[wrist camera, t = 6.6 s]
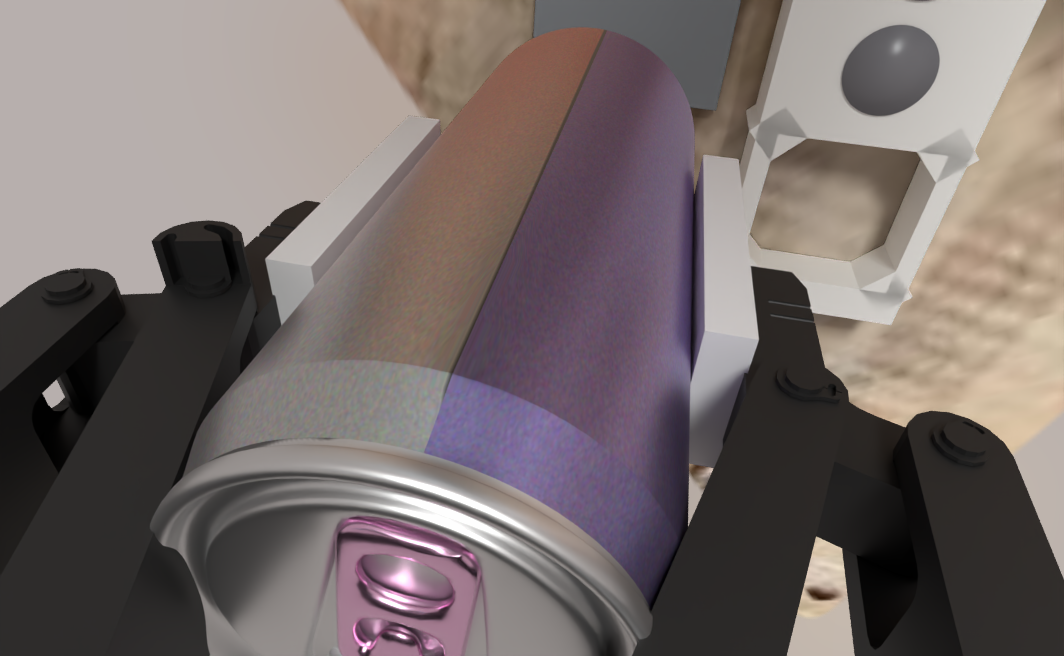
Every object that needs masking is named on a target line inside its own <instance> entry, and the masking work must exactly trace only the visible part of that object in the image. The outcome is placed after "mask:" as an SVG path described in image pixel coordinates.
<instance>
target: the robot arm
mask: <svg viewBox="0 0 1064 656" xmlns="http://www.w3.org/2000/svg"><path fill="white" fill-rule="evenodd" d="M439 136H440V120H439V119H432V118H424V117H417V116H408V117H407V118H406V119H405V120H404V121H403V122H402V123H401V124H400V125H399V126H398V127H397V128H396V129H395V130H394V131H393V132H392V133H391V134H390V135H389V136H388V137H387V138H386V139H385V140H384V141H383V142H382V143H381V144H380V145H379V146H378V147H377V148H376V149H375V150H374V151H373V152H372V153H371V154H370V155H369V156H368V157H367V158H366V159H365V160H364V161H363V162H362V163H361V164H360V165H359V166H358V167H357V168H356V169H355V170H354V171H353V172H352V173H351V174H350V175H349V176H348V177H347V178H346V179H345V180H344V181H343V182H342V183H341V184H340V185H339V186H338V187H337V188H336V189H335V190H334V191H333V192H332V193H331V194H330V195H329V196H328V197H327V198H326V199H325V200H324V201H323V202H322V203H319V202H312V201H304V202H302V203H300V204H297V205H295V206H293V207H291V208H289V209H287V210H285V211H284V212H282V213H281V214H280V215H279V216H278V217H277V218H276V219H275V220H274V221H273V222H272V223H271V225H270V226H267V227H266V228H265V229H264V230H263V231H262V232H261V233H260V234H259V237H255V238H254V239H253V240H252V241H251V242H250V243H249V244H248V245H247V246H246V247H244V242H243V238H242V233H241V232H240V231H239V230H238V229H237V228H236V227H235V226H233V225H230V224H228V223H225V222H218V221H198V222H189V223H185V224H181V225H177V226H174V227H172V228H170V229H168V230H166V231H163V232H162V233H160V234H159V235H158V236H157V237H156V238H154V239H153V241H152V244H153V247H154V250H155V253H156V256H157V259H158V262H159V265H160V269H161V272H162V275H163V278H164V281H165V284H166V287H165V288H164V290H163V292H162V293H156V294H128V295H121V294H120V291H119V289H118V287H117V283H116V281H115V278H113V277H112V276H111V275H110V274H109V273H108V272H105V271H101V270H98V269H80V268H77V269H70V270H63V271H59V272H57V273H55V274H53V275H50V276H47V277H44V278H42V279H40V280H38V281H37V282H35V283H33V284H32V285H30V286H28V287H27V288H26V289H24V290H23V291H22V292H20V293H19V294H18V295H16V296H15V297H14V298H12V299H11V300H10V301H9V302H7V303H6V304H4V305H3V306H2V307H1V308H0V656H210V653H209V649H208V644H207V633H206V620H205V613H204V608H203V604H202V600H201V596H200V593H199V591H198V588H197V586H196V583H195V581H194V578H193V576H192V574H191V572H190V569H189V567H188V565H187V563H186V561H185V560H184V558H183V557H182V555H181V554H180V553H179V552H178V551H177V550H176V549H173V548H170V547H166V546H163V545H162V544H161V543H160V542H159V541H158V539H157V538H156V536H155V534H154V532H152V531H151V530H150V523H151V520H152V518H153V516H154V514H155V512H156V510H157V508H158V506H159V505H160V503H161V502H162V501H163V499H164V498H165V497H166V495H167V494H168V493H169V491H170V490H171V489H172V488H173V487H174V486H175V485H176V484H177V483H178V482H179V481H180V480H181V479H182V478H183V475H184V471H185V468H186V465H187V462H188V458H189V455H190V452H191V448H192V445H193V442H194V440H195V437H196V434H197V431H198V430H199V428H200V426H201V424H202V422H203V420H204V419H205V418H206V416H207V415H208V413H209V412H210V411H211V409H212V408H213V407H214V406H215V405H216V403H217V402H218V401H219V400H220V399H221V397H222V396H223V395H224V394H225V393H226V391H227V390H228V389H229V388H230V387H231V385H232V384H233V383H234V382H235V381H236V380H237V378H238V377H239V376H240V375H241V374H242V372H243V371H244V370H245V369H246V368H247V366H248V365H249V364H250V363H251V362H252V360H253V359H254V358H255V357H256V356H257V354H258V353H259V352H260V351H261V350H262V348H263V347H264V346H265V345H266V344H267V342H268V341H269V340H270V339H271V338H272V336H273V335H274V334H275V333H276V332H277V330H278V329H279V328H280V327H281V326H282V324H283V323H284V322H285V321H286V320H287V318H288V317H289V316H290V315H291V314H292V312H293V311H294V310H295V309H296V308H297V306H298V305H299V304H300V303H301V302H302V300H303V299H304V298H305V297H306V296H307V294H308V293H309V292H310V291H311V290H312V289H313V287H314V286H315V285H316V284H317V283H318V281H319V280H320V279H321V278H322V277H323V275H324V274H325V273H326V272H327V271H328V269H329V268H330V267H331V266H332V265H333V263H334V262H335V261H336V260H337V259H338V257H339V256H340V255H341V254H342V253H343V251H344V250H345V249H346V248H347V247H348V245H349V244H350V243H351V242H352V241H353V239H354V238H355V237H356V236H357V235H358V233H359V232H360V231H361V230H362V229H363V227H364V226H365V225H366V224H367V223H368V221H369V220H370V219H371V218H372V217H373V215H374V214H375V213H376V212H377V211H378V209H379V208H380V207H381V206H382V205H383V203H384V202H385V201H386V200H387V199H388V198H389V196H390V195H391V194H392V193H393V192H394V190H395V189H396V188H397V187H398V186H399V184H400V183H401V182H402V181H403V180H404V178H405V177H406V176H407V175H408V174H409V172H410V171H411V170H412V169H413V168H414V166H415V165H416V164H417V163H418V162H419V160H420V159H421V158H422V157H423V156H424V154H425V153H426V152H427V151H428V150H429V148H430V147H431V146H432V145H433V144H434V142H435V141H436V140H437V139H438V138H439ZM810 307H811V304H810V300H809V296H808V291H807V288H806V287H805V286H804V285H803V284H802V283H801V282H800V280H799V279H798V278H797V277H796V276H795V275H794V274H793V273H792V272H788V271H782V270H775V269H768V268H762V267H755V266H751V265H750V256H749V248H748V239H747V230H746V221H745V212H744V203H743V195H742V186H741V177H740V168H739V159H734V158H726V157H719V156H711V155H703V158H702V163H701V167H700V172H699V176H698V181H697V185H696V190H695V194H694V207H693V264H692V321H691V378H690V435H689V463H690V464H695V465H700V466H706V467H711V468H714V469H713V471H712V474H711V476H710V478H709V481H708V483H707V485H706V487H705V490H704V492H703V494H702V497H701V499H700V501H699V503H698V506H697V508H696V510H695V513H694V515H693V517H692V520H691V522H690V524H689V526H688V529H687V531H686V533H685V535H684V538H683V540H682V542H681V545H680V547H679V549H678V551H677V554H676V556H675V558H674V561H673V563H672V565H671V567H670V570H669V572H668V574H667V577H666V579H665V581H664V583H663V586H662V588H661V590H660V593H659V595H658V597H657V599H656V602H655V604H654V606H653V609H652V611H651V615H652V616H653V623H652V630H651V633H650V635H649V636H648V637H647V638H644V639H639V641H638V643H637V645H636V647H635V650H634V652H633V654H632V656H787V652H788V648H789V643H790V640H791V636H792V632H793V627H794V623H795V619H796V615H797V611H798V607H799V603H800V599H801V595H802V591H803V587H804V583H805V579H806V575H807V571H808V567H809V563H810V559H811V555H812V550H813V546H814V542H815V538H816V536H817V537H819V538H821V539H823V540H825V541H828V542H830V543H832V544H834V545H836V546H838V547H840V548H843V549H842V551H843V560H844V568H845V577H846V585H847V594H848V602H849V610H850V619H851V627H852V636H853V644H854V653H855V656H1064V579H1063V576H1062V574H1061V572H1060V569H1059V567H1058V564H1057V562H1056V559H1055V557H1054V554H1053V552H1052V549H1051V547H1050V545H1049V542H1048V540H1047V537H1046V535H1045V533H1044V530H1043V527H1042V525H1041V523H1040V520H1039V518H1038V515H1037V513H1036V511H1035V508H1034V506H1033V503H1032V501H1031V498H1030V496H1029V493H1028V491H1027V488H1026V486H1025V484H1024V481H1023V479H1022V476H1021V474H1020V471H1019V469H1018V466H1017V464H1016V461H1015V459H1014V457H1013V455H1012V454H1011V452H1010V451H1009V449H1008V448H1007V446H1006V445H1005V443H1004V442H1003V441H1002V440H1000V439H999V438H998V437H997V436H996V435H994V434H993V433H992V432H991V431H990V430H989V429H987V428H985V427H983V426H981V425H980V424H978V423H976V422H974V421H972V420H970V419H968V418H965V417H962V416H959V415H955V414H952V413H949V412H938V411H929V412H924V413H920V414H917V415H916V416H915V417H914V418H913V419H912V420H911V421H910V422H909V423H908V425H907V426H906V428H905V427H903V426H900V425H897V424H895V423H892V422H890V421H887V420H884V419H882V418H879V417H877V416H874V415H872V414H870V413H868V412H865V411H863V410H861V409H859V408H858V407H856V406H854V405H853V404H851V403H850V402H849V397H848V390H847V389H846V387H845V386H844V384H843V383H842V381H841V380H840V379H839V378H838V377H837V376H835V375H834V374H833V373H832V372H830V371H829V370H828V369H826V368H825V365H824V361H823V357H822V352H821V348H820V344H819V339H818V335H817V331H816V326H815V323H813V322H814V317H813V313H812V309H810ZM56 379H57V381H58V383H59V385H60V387H61V389H62V391H63V393H64V395H65V398H64V399H63V400H62V401H61V402H60V403H59V404H58V405H56V406H55V407H53V408H51V407H50V406H48V404H47V402H46V400H45V398H44V396H43V394H42V393H43V392H44V391H45V390H46V389H47V388H48V387H49V386H50V385H51V384H52V383H53V382H54V381H55V380H56Z"/></svg>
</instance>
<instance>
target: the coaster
mask: <svg viewBox="0 0 1064 656" xmlns="http://www.w3.org/2000/svg"><path fill="white" fill-rule="evenodd" d="M740 2H741V0H536V2H535V19H534V37H533V38H535V37H538V36H540V35H542V34H545V33H548V32H551V31H556V30H560V29H566V28H577V27H587V28H598V29H603V30H608V31H612V32H615V33H618V34H621V35H624V36H626V37H628V38H631V39H633V40H635V41H636V42H638V43H640V44H642V45H643V46H645V47H646V48H648V49H649V50H650V51H652V52H653V53H654V54H655V55H657V56H658V57H659V58H660V59H661V60H662V61H663V62H664V63H665V64H666V65H667V67H668V68H669V69H670V70H671V71H672V73H673V74H674V75H675V77H676V78H677V80H678V82H679V83H680V85H681V87H682V89H683V91H684V93H685V95H686V97H687V100H688V102H689V105H690V107H691V108H699V109H707V110H715V111H716V108H717V104H718V99H719V95H720V91H721V86H722V82H723V77H724V73H725V68H726V64H727V60H728V55H729V51H730V46H731V42H732V38H733V33H734V29H735V24H736V20H737V16H738V11H739V7H740Z"/></svg>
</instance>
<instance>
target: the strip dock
mask: <svg viewBox="0 0 1064 656" xmlns="http://www.w3.org/2000/svg"><path fill="white" fill-rule="evenodd" d="M1045 2H1046V0H783V2H782V6H781V9H780V13H779V17H778V21H777V25H776V29H775V32H774V36H773V40H772V44H771V48H770V52H769V55H768V59H767V63H766V67H765V71H764V75H763V78H762V82H761V86H760V90H759V94H758V98H757V101H756V104H755V105H753V106H752V107H750V108H749V109H747V110H746V114H747V121H748V127H749V132H748V136H747V140H746V144H745V147H744V151H743V155H742V159H741V163H740V167H739V168H740V177H741V186H742V195H743V203H744V212H745V221H746V230H747V239H748V248H749V256H750V265H751V266H755V267H762V268H768V269H775V270H782V271H788V272H792V273H793V274H794V275H795V276H796V277H797V278H798V279H799V280H800V282H801V283H802V284H803V285H804V286H805V287H806V288H807V291H808V296H809V300H810V304H811V307H810V309H812V313H817V314H824V315H830V316H836V317H843V318H849V319H855V320H862V321H868V322H874V323H881V324H887V325H891V324H892V322H893V320H894V318H895V316H896V314H897V312H898V309H899V307H900V305H901V303H902V302H904V301H906V300H908V299H910V298H913V297H912V295H911V292H910V290H909V286H910V284H911V282H912V280H913V278H914V276H915V274H916V272H917V270H918V268H919V266H920V263H921V261H922V259H923V257H924V255H925V253H926V251H927V249H928V247H929V245H930V243H931V241H932V238H933V236H934V234H935V232H936V230H937V228H938V226H939V224H940V222H941V220H942V218H943V215H944V213H945V211H946V209H947V207H948V205H949V203H950V201H951V199H952V197H953V195H954V192H955V190H956V188H957V186H958V184H959V182H960V180H961V178H962V176H963V174H964V172H965V169H966V167H968V166H970V165H971V164H973V163H975V162H977V161H979V158H978V156H977V154H976V152H975V149H976V147H977V144H978V142H979V140H980V138H981V136H982V134H983V132H984V130H985V128H986V126H987V124H988V121H989V119H990V117H991V115H992V113H993V111H994V109H995V107H996V105H997V103H998V101H999V98H1000V96H1001V94H1002V92H1003V90H1004V88H1005V86H1006V84H1007V82H1008V80H1009V78H1010V76H1011V73H1012V71H1013V69H1014V67H1015V65H1016V63H1017V61H1018V59H1019V57H1020V55H1021V53H1022V50H1023V48H1024V46H1025V44H1026V42H1027V40H1028V38H1029V36H1030V34H1031V32H1032V30H1033V27H1034V25H1035V23H1036V21H1037V19H1038V17H1039V15H1040V13H1041V11H1042V9H1043V7H1044V5H1045ZM807 138H810V139H818V140H826V141H834V142H842V143H849V144H857V145H865V146H873V147H881V148H889V149H897V150H904V151H912V152H916V153H917V154H918V156H919V158H920V159H921V160H920V162H919V164H918V167H917V169H916V171H915V174H914V176H913V178H912V181H911V183H910V185H909V188H908V190H907V192H906V194H905V197H904V199H903V201H902V204H901V206H900V208H899V211H898V213H897V215H896V218H895V220H894V222H893V225H892V227H891V229H890V232H889V234H888V236H887V239H886V241H885V243H884V245H882V246H880V247H878V248H876V249H874V250H872V251H870V252H868V253H866V254H864V255H862V256H860V257H858V258H856V259H854V260H852V261H850V262H849V261H842V260H835V259H828V258H822V257H815V256H808V255H801V254H794V253H788V252H781V251H774V250H767V249H761V248H760V247H759V246H758V244H757V243H756V242H755V240H754V239H753V238H752V236H751V235H750V230H751V227H752V223H753V220H754V216H755V213H756V209H757V206H758V203H759V199H760V196H761V192H762V189H763V185H764V182H765V178H766V175H767V171H768V168H769V164H770V161H772V160H773V159H775V158H777V157H778V156H780V155H781V154H783V153H785V152H786V151H788V150H789V149H791V148H793V147H794V146H796V145H797V144H799V143H801V142H802V141H804V140H805V139H807Z"/></svg>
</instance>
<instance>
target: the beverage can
mask: <svg viewBox="0 0 1064 656" xmlns="http://www.w3.org/2000/svg"><path fill="white" fill-rule="evenodd" d="M694 150H695V133H694V123H693V117H692V112H691V109H690V105H689V102H688V100H687V97H686V95H685V93H684V91H683V89H682V87H681V85H680V83H679V82H678V80H677V78H676V77H675V75H674V74H673V73H672V71H671V70H670V69H669V68H668V67H667V65H666V64H665V63H664V62H663V61H662V60H661V59H660V58H659V57H658V56H657V55H655V54H654V53H653V52H652V51H650V50H649V49H648V48H646V47H645V46H643V45H642V44H640V43H638V42H636V41H635V40H633V39H631V38H628V37H626V36H624V35H621V34H618V33H615V32H612V31H608V30H603V29H598V28H587V27H577V28H566V29H560V30H556V31H551V32H548V33H545V34H542V35H540V36H538V37H535V38H533V39H531V40H530V41H528V42H526V43H524V44H523V45H521V46H520V47H518V48H517V49H516V50H514V51H513V52H512V53H511V54H510V55H508V56H507V57H506V58H505V59H504V60H503V61H502V63H501V64H500V65H499V66H498V67H497V68H496V69H495V71H494V72H493V73H492V74H491V75H490V77H489V78H488V79H487V80H486V81H485V83H484V84H483V85H482V86H481V87H480V89H479V90H478V91H477V92H476V93H475V95H474V96H473V97H472V98H471V99H470V101H469V102H468V103H467V104H466V105H465V107H464V108H463V109H462V110H461V111H460V113H459V114H458V115H457V116H456V117H455V118H454V120H453V121H452V122H451V123H450V124H449V126H448V127H447V128H446V129H445V130H444V132H443V133H442V134H441V135H440V136H439V138H438V139H437V140H436V141H435V142H434V144H433V145H432V146H431V147H430V148H429V150H428V151H427V152H426V153H425V154H424V156H423V157H422V158H421V159H420V160H419V162H418V163H417V164H416V165H415V166H414V168H413V169H412V170H411V171H410V172H409V174H408V175H407V176H406V177H405V178H404V180H403V181H402V182H401V183H400V184H399V186H398V187H397V188H396V189H395V190H394V192H393V193H392V194H391V195H390V196H389V198H388V199H387V200H386V201H385V202H384V203H383V205H382V206H381V207H380V208H379V209H378V211H377V212H376V213H375V214H374V215H373V217H372V218H371V219H370V220H369V221H368V223H367V224H366V225H365V226H364V227H363V229H362V230H361V231H360V232H359V233H358V235H357V236H356V237H355V238H354V239H353V241H352V242H351V243H350V244H349V245H348V247H347V248H346V249H345V250H344V251H343V253H342V254H341V255H340V256H339V257H338V259H337V260H336V261H335V262H334V263H333V265H332V266H331V267H330V268H329V269H328V271H327V272H326V273H325V274H324V275H323V277H322V278H321V279H320V280H319V281H318V283H317V284H316V285H315V286H314V287H313V289H312V290H311V291H310V292H309V293H308V294H307V296H306V297H305V298H304V299H303V300H302V302H301V303H300V304H299V305H298V306H297V308H296V309H295V310H294V311H293V312H292V314H291V315H290V316H289V317H288V318H287V320H286V321H285V322H284V323H283V324H282V326H281V327H280V328H279V329H278V330H277V332H276V333H275V334H274V335H273V336H272V338H271V339H270V340H269V341H268V342H267V344H266V345H265V346H264V347H263V348H262V350H261V351H260V352H259V353H258V354H257V356H256V357H255V358H254V359H253V360H252V362H251V363H250V364H249V365H248V366H247V368H246V369H245V370H244V371H243V372H242V374H241V375H240V376H239V377H238V378H237V380H236V381H235V382H234V383H233V384H232V385H231V387H230V388H229V389H228V390H227V391H226V393H225V394H224V395H223V396H222V397H221V399H220V400H219V401H218V402H217V403H216V405H215V406H214V407H213V408H212V409H211V411H210V412H209V413H208V415H207V416H206V418H205V419H204V420H203V422H202V424H201V426H200V428H199V430H198V431H197V434H196V437H195V440H194V442H193V445H192V448H191V452H190V455H189V458H188V462H187V465H186V468H185V471H184V475H183V478H182V479H181V480H180V481H179V482H178V483H177V484H176V485H175V486H174V487H173V488H172V489H171V490H170V491H169V493H168V494H167V495H166V497H165V498H164V499H163V501H162V502H161V503H160V505H159V506H158V508H157V510H156V512H155V514H154V516H153V518H152V520H151V523H150V530H151V531H152V532H154V534H155V536H156V538H157V539H158V541H159V542H160V543H161V544H162V545H163V546H166V547H170V548H173V549H176V550H177V551H178V552H179V553H180V554H181V555H182V557H183V558H184V560H185V561H186V563H187V565H188V567H189V569H190V572H191V574H192V576H193V578H194V581H195V583H196V586H197V588H198V591H199V593H200V596H201V600H202V604H203V608H204V613H205V620H206V633H207V644H208V649H209V653H210V656H632V654H633V652H634V650H635V647H636V645H637V643H638V641H639V639H644V638H647V637H648V636H649V635H650V633H651V630H652V623H653V616H652V615H651V611H652V609H653V606H654V604H655V602H656V599H657V597H658V595H659V593H660V590H661V588H662V586H663V583H664V581H665V579H666V577H667V574H668V572H669V570H670V567H671V565H672V563H673V561H674V558H675V556H676V554H677V551H678V549H679V547H680V545H681V542H682V540H683V538H684V535H685V533H686V531H687V529H688V489H689V435H690V378H691V321H692V264H693V207H694Z"/></svg>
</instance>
